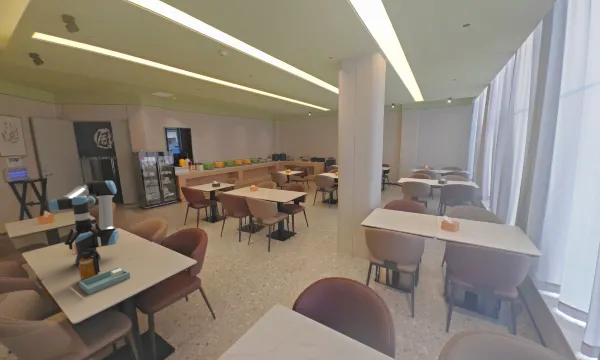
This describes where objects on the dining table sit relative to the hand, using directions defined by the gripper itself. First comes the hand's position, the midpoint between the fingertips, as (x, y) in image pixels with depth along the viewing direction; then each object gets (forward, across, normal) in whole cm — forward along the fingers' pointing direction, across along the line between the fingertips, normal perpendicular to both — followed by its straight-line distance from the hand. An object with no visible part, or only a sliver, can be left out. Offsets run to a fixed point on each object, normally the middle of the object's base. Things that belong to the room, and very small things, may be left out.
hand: (87, 249), depth 156 cm
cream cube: (+21, +10, -14) cm, 27 cm away
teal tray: (+22, +3, -14) cm, 26 cm away
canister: (+22, 0, 0) cm, 22 cm away
